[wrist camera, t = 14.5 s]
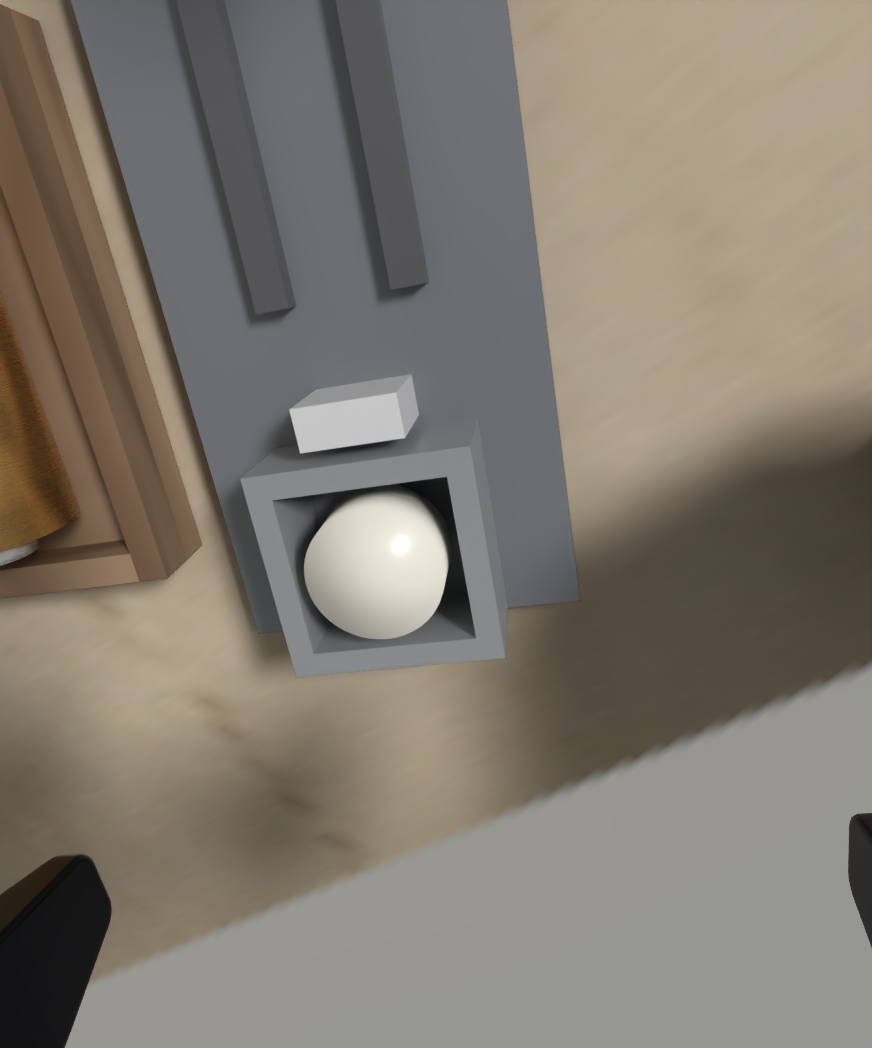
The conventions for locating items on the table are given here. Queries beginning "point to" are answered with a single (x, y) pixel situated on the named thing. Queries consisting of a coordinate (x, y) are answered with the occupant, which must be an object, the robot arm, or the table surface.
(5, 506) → the cell
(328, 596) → the bulb
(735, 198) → the table surface
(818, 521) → the table surface
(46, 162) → the trough
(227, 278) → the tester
